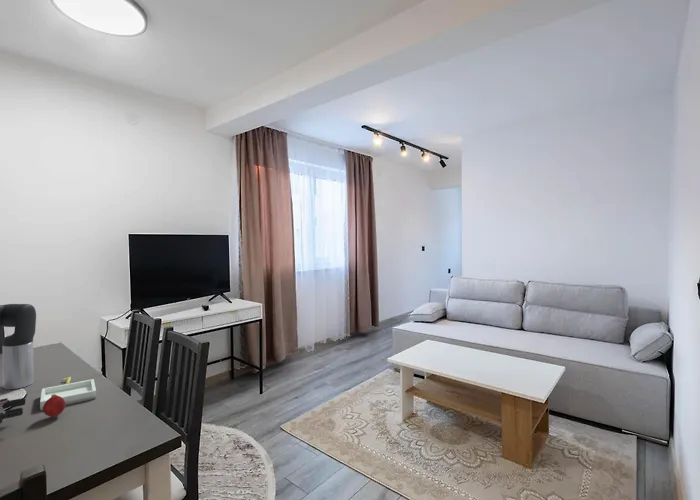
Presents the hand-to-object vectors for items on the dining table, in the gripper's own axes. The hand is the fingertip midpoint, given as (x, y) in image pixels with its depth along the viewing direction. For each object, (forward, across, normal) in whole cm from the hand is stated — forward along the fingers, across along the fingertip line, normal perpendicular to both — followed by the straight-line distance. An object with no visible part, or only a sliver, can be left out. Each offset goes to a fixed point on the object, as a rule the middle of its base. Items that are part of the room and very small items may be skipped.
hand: (24, 405), depth 116 cm
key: (+11, +30, +7) cm, 32 cm away
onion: (+8, 0, +6) cm, 10 cm away
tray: (+12, +16, +6) cm, 21 cm away
